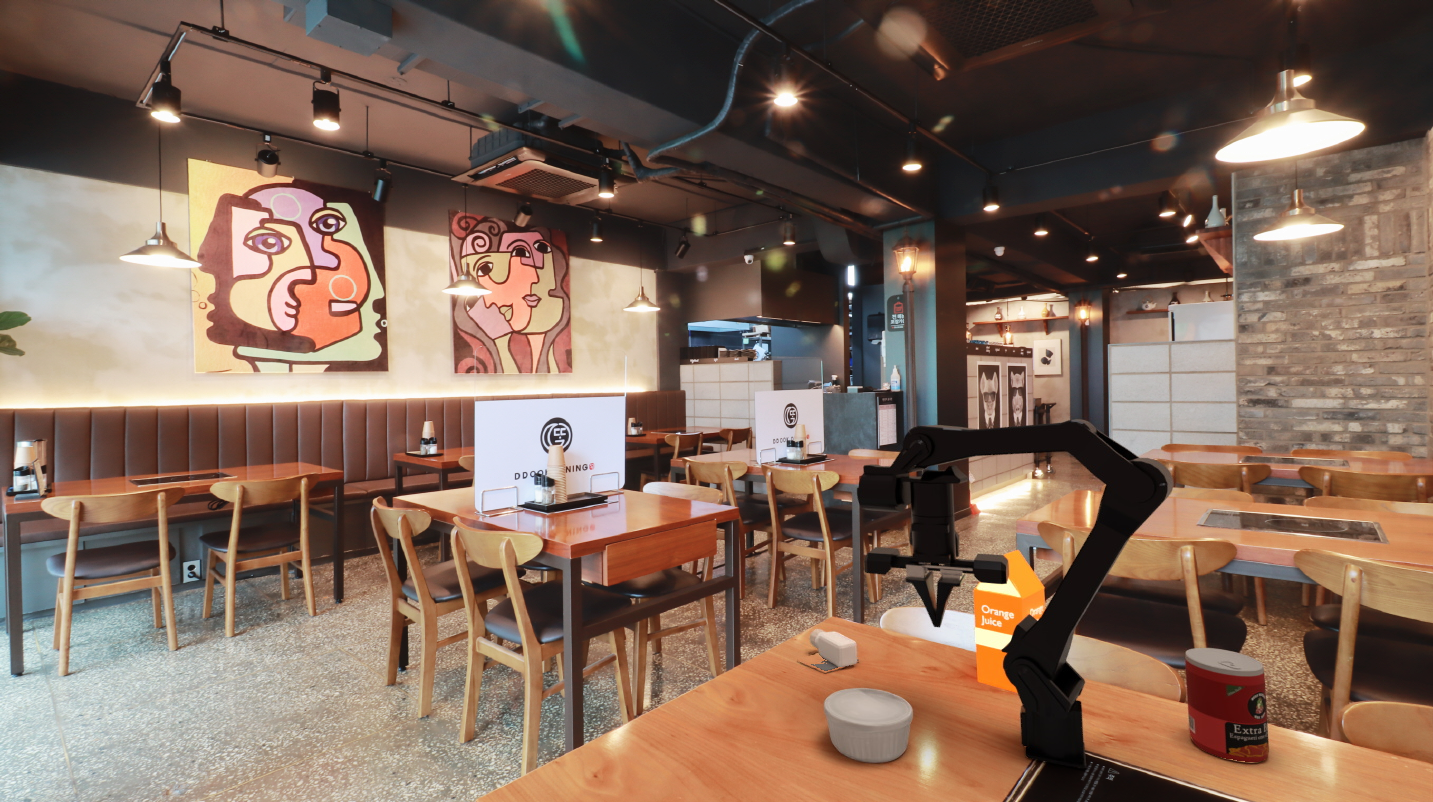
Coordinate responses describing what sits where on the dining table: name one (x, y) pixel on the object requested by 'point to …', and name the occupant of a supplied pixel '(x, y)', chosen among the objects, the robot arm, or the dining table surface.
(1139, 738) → the dining table surface
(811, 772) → the dining table surface
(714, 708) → the dining table surface
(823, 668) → the coaster
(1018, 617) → the orange juice
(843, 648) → the pepper shaker
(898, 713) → the ramekin
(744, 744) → the dining table surface
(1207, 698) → the canned food
